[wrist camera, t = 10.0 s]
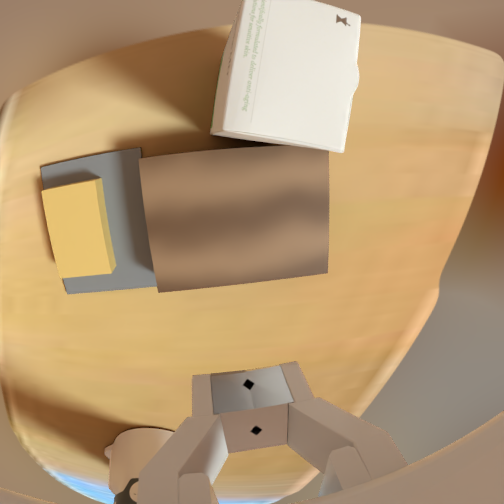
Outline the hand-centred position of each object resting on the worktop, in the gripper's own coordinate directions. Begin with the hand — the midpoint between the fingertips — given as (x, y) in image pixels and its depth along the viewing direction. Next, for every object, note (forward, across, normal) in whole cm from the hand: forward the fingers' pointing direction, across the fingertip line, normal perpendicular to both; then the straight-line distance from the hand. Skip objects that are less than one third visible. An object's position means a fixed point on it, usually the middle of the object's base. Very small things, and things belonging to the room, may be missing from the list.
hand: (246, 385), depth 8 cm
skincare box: (+23, +4, +11) cm, 26 cm away
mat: (+23, -12, 0) cm, 26 cm away
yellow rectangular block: (+21, -13, +1) cm, 25 cm away
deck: (+23, +2, 0) cm, 23 cm away
